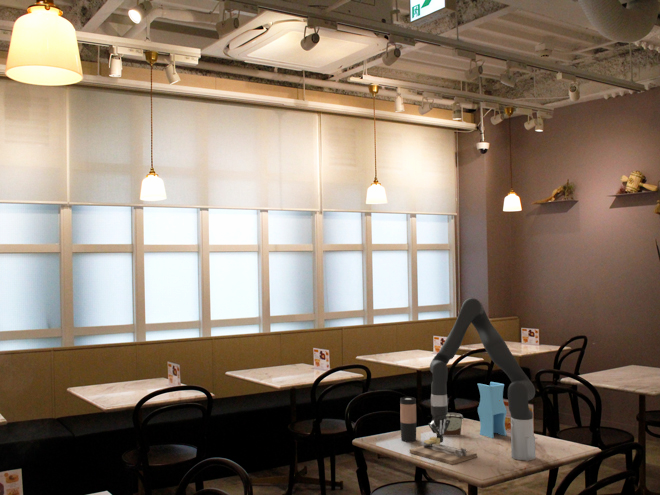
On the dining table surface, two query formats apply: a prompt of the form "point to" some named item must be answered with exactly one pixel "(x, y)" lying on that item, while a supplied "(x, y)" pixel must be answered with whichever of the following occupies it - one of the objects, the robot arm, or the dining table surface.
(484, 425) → the light blue flared block
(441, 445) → the tongs upper arm
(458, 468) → the dining table surface
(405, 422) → the travel mug
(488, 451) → the dining table surface
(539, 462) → the dining table surface
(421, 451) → the wooden board with rail
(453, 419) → the food container
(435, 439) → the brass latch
